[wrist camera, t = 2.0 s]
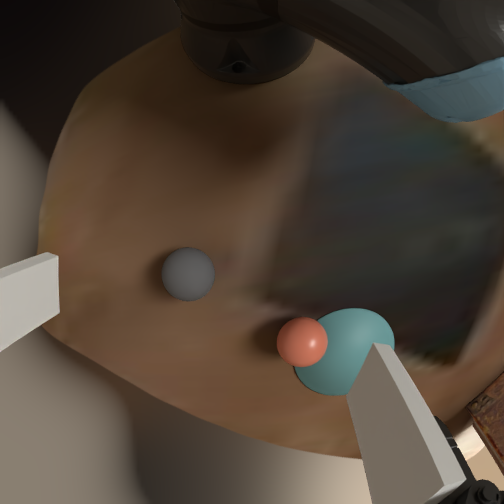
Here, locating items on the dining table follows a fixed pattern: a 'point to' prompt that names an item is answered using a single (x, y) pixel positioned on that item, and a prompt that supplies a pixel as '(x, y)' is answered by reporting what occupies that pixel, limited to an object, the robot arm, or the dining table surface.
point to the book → (490, 419)
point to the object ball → (302, 342)
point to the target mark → (345, 349)
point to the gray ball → (188, 274)
